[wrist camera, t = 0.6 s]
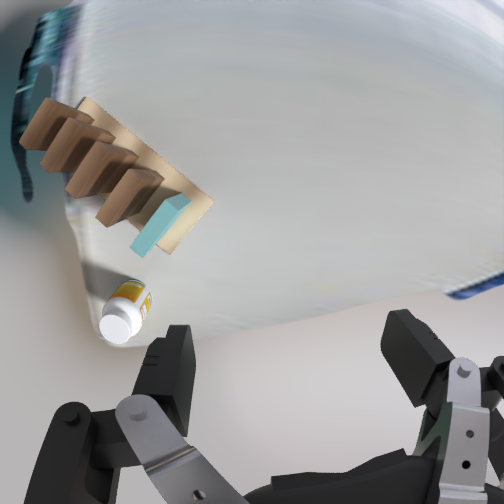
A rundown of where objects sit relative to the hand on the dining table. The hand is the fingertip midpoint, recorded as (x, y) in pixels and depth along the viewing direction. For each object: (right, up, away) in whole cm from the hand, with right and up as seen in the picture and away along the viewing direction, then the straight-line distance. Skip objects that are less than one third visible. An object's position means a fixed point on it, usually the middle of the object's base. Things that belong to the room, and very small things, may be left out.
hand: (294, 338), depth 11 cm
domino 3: (-18, +14, +22) cm, 32 cm away
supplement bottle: (-18, -3, +28) cm, 33 cm away
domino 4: (-15, +11, +23) cm, 30 cm away
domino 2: (-22, +17, +21) cm, 34 cm away
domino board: (-18, +14, +23) cm, 33 cm away
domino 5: (-12, +8, +24) cm, 28 cm away
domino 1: (-25, +19, +20) cm, 37 cm away
